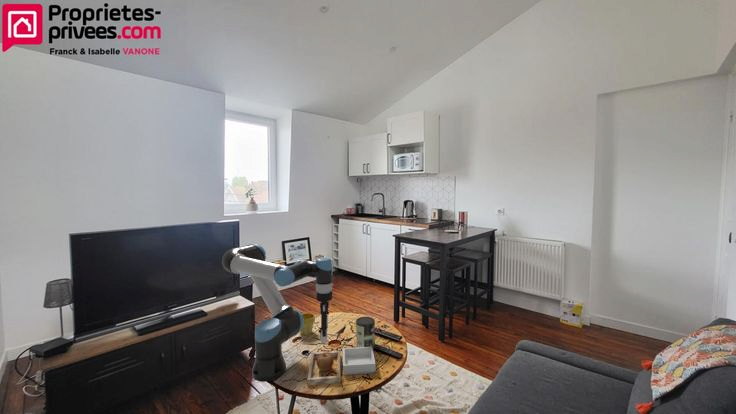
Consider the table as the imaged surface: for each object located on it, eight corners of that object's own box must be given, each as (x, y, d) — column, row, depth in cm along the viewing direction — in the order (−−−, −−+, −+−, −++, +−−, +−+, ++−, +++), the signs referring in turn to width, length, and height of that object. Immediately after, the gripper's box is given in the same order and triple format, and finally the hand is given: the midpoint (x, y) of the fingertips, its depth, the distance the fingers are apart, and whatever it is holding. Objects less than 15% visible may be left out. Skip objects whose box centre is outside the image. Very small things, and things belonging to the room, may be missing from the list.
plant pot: (306, 326, 185) (306, 311, 184) (318, 331, 179) (318, 315, 178) (293, 333, 176) (293, 317, 176) (305, 338, 170) (305, 321, 170)
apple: (313, 372, 139) (312, 355, 138) (322, 362, 146) (322, 347, 146) (327, 376, 136) (327, 359, 135) (336, 366, 143) (336, 350, 142)
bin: (343, 375, 136) (343, 365, 136) (342, 356, 151) (342, 348, 151) (375, 372, 138) (375, 363, 137) (372, 354, 153) (371, 346, 152)
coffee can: (376, 341, 166) (376, 317, 165) (373, 351, 156) (372, 325, 155) (358, 339, 168) (358, 315, 167) (354, 349, 158) (353, 323, 157)
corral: (307, 385, 130) (307, 379, 130) (311, 357, 151) (311, 352, 151) (340, 382, 131) (340, 377, 131) (340, 355, 152) (340, 350, 152)
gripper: (332, 300, 127) (332, 348, 128) (332, 282, 152) (332, 322, 153) (314, 301, 126) (315, 349, 128) (317, 282, 151) (318, 323, 152)
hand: (324, 335), depth 140 cm, fingers open, 13 cm apart
